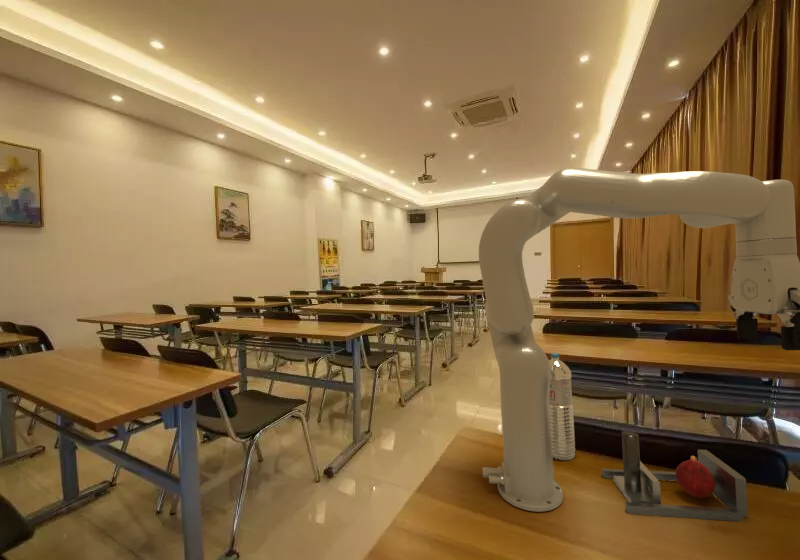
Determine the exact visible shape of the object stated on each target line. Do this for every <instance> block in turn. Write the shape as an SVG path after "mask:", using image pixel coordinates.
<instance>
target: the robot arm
mask: <svg viewBox="0 0 800 560" xmlns="http://www.w3.org/2000/svg"><path fill="white" fill-rule="evenodd" d="M794 187H795V186H794V184H793V182H791V181H790V180H787V179H771V180H768V179H767V180H763V181H761V180H760V179H758V178H756V177H753V176H752V175H746V174H741V173H740V174H739V173H732V172H719V171H706V170H705V171H704V170H695V171H694V170H693V171H692V170H691V171H690V170H689V171H687V170H686V171H672V172H671V171H670V172H653V173H652V172H651V173H632V172H621V171H613V170H612V171H611V170H604V169H602V170H600V169H589V168H581V167H580V168H579V167H565V168H562V169H559V170H557V171H556V172H554V173H553V174H552V175H551V176H550V177H549V178H548V179H547V180H546V182H545V183H544V184H542V186H540V187H539V188H537V189H536V190H535V191H533V192H532V193H531V194H529V195H528V196H525V198H516V199H513V200H510V201H507V202H506V203H505V204H503V205H502V206H500V208H499V209H498V210H497V211H495V213H494V214H493V215H492V216H491V217H490V218H489V220H488V222H487V223H486V224H485V227H484V229H483V231H482V233H481V236H480V239H479V245H478V261H479V263H478V264H479V269H480V274H481V279H482V280H481V281H482V284H483V285H482V286H483V290H484V293H485V294H484V295H485V298H486V299H485V304H484V310H485V316H486V320H487V325H488V329H489V334H490V338H491V343H492V347H493V350H494V351H493V352H494V355H495V359H496V362H497V365H498V369H499V380H500V381H499V382H500V384H499V387H500V411H501V412H500V414H501V415H500V416H501V425H502V427H501V428H502V445H503V448H502V449H503V461H501V466H497V467H486V466H484V467H482V478H486V479H487V478H488V482H489V484H493V485H494V484H497V491H498V492H499V495H500V496H501V497H502V499H503V500H505V501H506V502H508V503H509V504H510V505H512V506H513V507H515V508H516V507H517V508H518V509H521V510H524V511H529V512H535V513H536V512H538V513H542V512H549V511H552V510H555V509H556V508H558V507H559V506H560V505H561V504H562V502H563V500H564V492H563V489H562V487H561V485H560V484H559V483H558V482H557V481H556V480H555V479H554V478H555V477H554V460H553V459H554V458H553V457H552V437H551V419H550V381H551V370H550V364H549V360H550V359H548V356H547V354H546V352H545V351H544V350H543V348H542V347H541V346H540V345H539V344H538V343H537V342H536V341H535V337H534V332H533V328H532V323H533V321H534V317H535V310H534V306H533V303H532V302H533V301H532V299H531V296H530V292H529V287H528V283H527V279H526V276H525V269H524V265H523V250H524V247H525V245H526V243H527V242H528V241H529V240H530V239H532V238H533V237H534V236H536V235H537V234H539V233H541V232H542V231H544V230H546V229H547V228H549V227H550V226H551V225H553V224H554V223H556V222H558V221H559V220H561V219H562V218H563V217H565V216H566V215H568V214H569V213H574V214H575V213H577V214H585V215H593V216H603V217H608V218H609V217H610V218H618V219H627V220H628V219H645V218H653V217H658V216H668V215H670V216H671V215H678V217H679V219H680V220H681V221H682V222H683V223H684V224H685V225H687V226H688V227H692V228H697V229H709V228H714V227H718V226H719V227H720V226H725V225H731V224H732V225H734V230H735V234H734V235H735V253H736V259H734V263H733V268H732V275H731V287H730V288H731V290H730V291H731V292H730V294H728V295H727V299H728V301H729V304H730V309H731V310H732V312H733V317H734V319H736V321H735V322H736V323H735V325H736V338H737V339H739V340H757V339H759V325H758V324H759V322H758V321H759V320H758V318H755V317H756V315H757V314H763V315H774V314H776V315H777V316H778V317H779V319H780V320H781V322H782V324H783V326H782V325H781V326H780V335H781V336H780V337H781V338H780V339H781V348H782V349H783V350H784V351H800V260H799V256H798V248H797V247H798V246H797V229H796V228H797V227H796V225H797V223H796V202H795V188H794ZM791 316H792V317H791Z"/></svg>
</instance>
